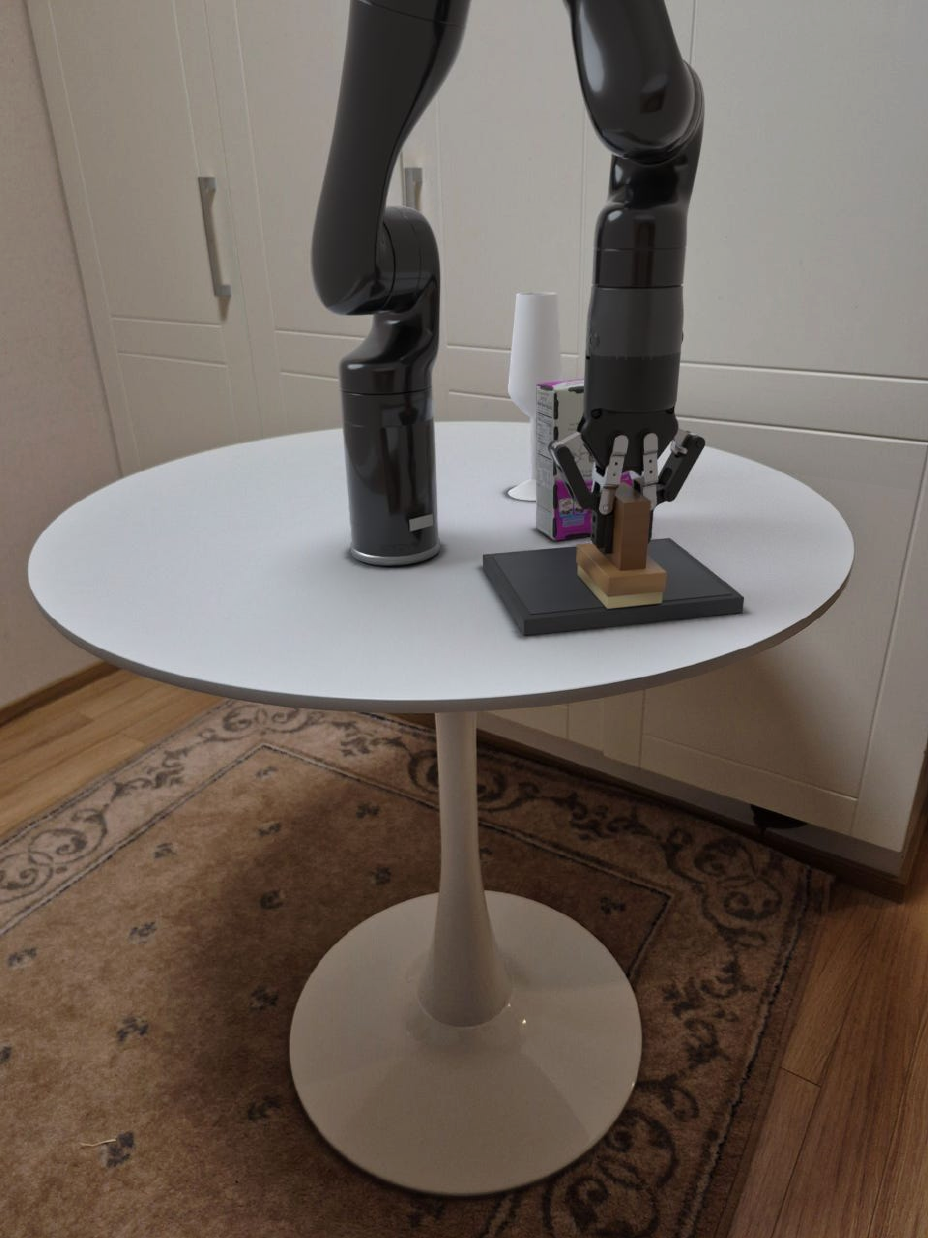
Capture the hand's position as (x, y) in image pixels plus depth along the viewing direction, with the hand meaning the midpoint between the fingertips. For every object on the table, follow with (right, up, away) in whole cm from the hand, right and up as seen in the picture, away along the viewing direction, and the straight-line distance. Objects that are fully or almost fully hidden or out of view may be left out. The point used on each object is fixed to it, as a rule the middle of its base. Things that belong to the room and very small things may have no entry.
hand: (619, 548), depth 76 cm
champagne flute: (-5, +10, +35) cm, 36 cm away
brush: (0, -3, +2) cm, 4 cm away
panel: (0, -3, +6) cm, 7 cm away
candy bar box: (0, +4, +22) cm, 22 cm away
